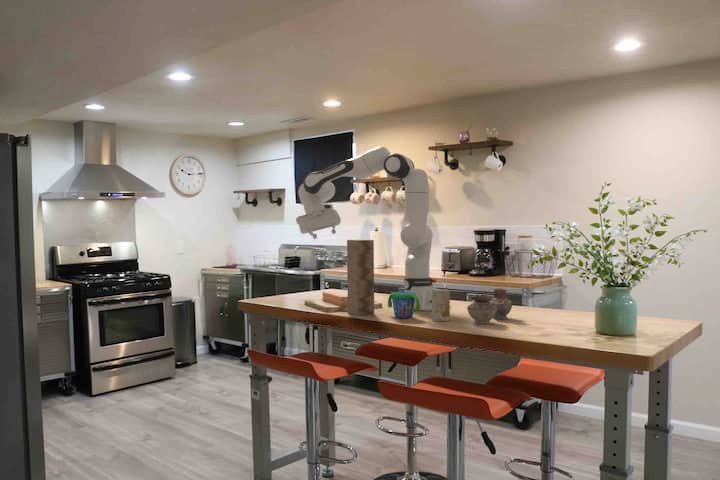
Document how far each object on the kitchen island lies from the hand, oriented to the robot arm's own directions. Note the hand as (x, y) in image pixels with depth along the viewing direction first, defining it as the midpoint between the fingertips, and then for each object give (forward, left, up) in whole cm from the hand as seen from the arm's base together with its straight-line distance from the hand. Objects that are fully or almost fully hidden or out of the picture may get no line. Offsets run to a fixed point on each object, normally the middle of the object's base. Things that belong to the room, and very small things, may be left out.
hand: (325, 235), depth 263 cm
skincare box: (-26, +58, -34) cm, 72 cm away
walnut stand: (-6, +26, -34) cm, 43 cm away
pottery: (-43, +68, -34) cm, 87 cm away
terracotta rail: (-4, +3, -32) cm, 32 cm away
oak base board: (-8, +2, -34) cm, 35 cm away
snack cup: (-17, +44, -34) cm, 58 cm away
